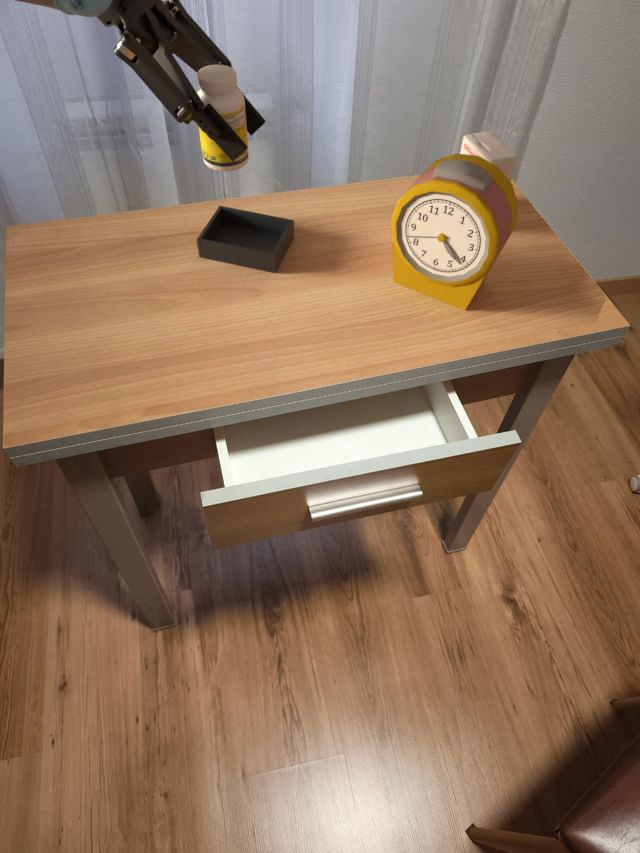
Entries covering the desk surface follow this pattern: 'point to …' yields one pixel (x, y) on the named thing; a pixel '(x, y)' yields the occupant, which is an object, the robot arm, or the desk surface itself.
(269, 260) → the bin
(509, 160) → the ink box
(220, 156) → the pill bottle
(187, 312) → the desk surface
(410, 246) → the alarm clock
